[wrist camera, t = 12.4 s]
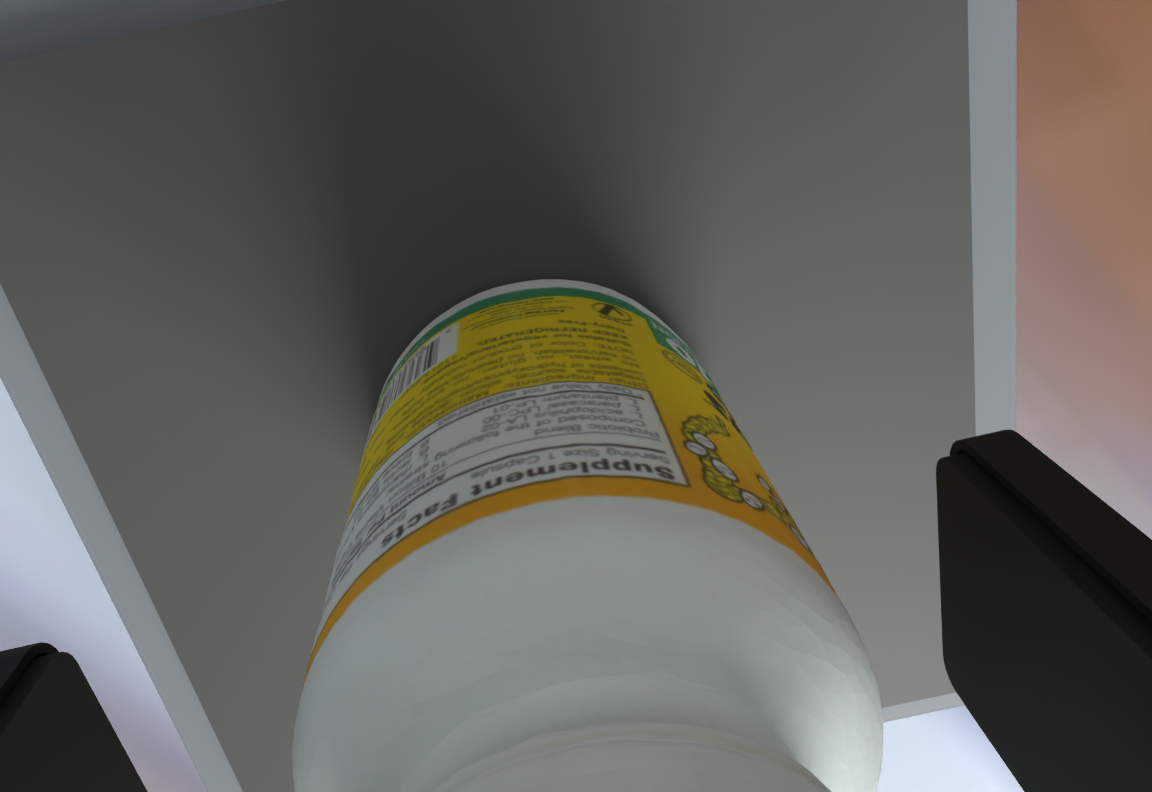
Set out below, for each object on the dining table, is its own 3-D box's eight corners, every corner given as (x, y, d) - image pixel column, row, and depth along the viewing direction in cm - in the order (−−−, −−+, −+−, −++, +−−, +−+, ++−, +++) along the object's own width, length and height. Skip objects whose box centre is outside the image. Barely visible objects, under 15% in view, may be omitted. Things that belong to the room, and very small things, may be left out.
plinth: (-7, 15, 16) (-213, 17, 11) (884, -179, 16) (1043, -258, 11) (287, 704, 22) (232, 883, 18) (921, 569, 22) (1031, 716, 18)
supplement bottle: (342, 297, 13) (50, 890, 4) (705, 248, 13) (1123, 723, 5) (412, 597, 15) (310, 1395, 7) (722, 551, 15) (1027, 1267, 7)
